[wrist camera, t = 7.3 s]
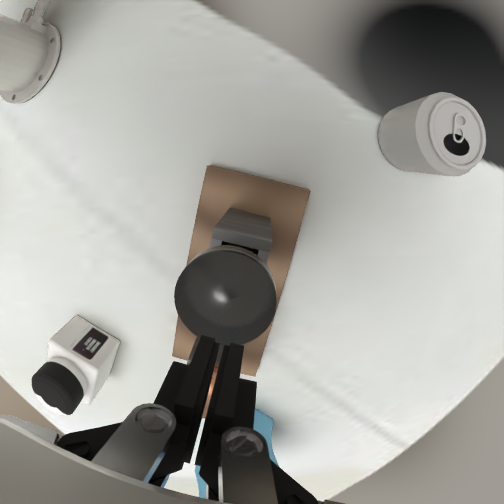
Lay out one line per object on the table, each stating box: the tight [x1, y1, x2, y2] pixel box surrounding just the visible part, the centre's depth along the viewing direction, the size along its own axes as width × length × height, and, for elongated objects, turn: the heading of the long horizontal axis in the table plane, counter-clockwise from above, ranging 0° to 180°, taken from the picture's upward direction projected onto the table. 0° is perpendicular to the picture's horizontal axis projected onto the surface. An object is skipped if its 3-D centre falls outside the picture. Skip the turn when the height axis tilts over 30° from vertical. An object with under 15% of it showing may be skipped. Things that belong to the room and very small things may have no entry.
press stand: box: [172, 166, 310, 376], centre depth 31 cm, size 24×11×12 cm, turn 166°
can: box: [378, 92, 486, 176], centre depth 26 cm, size 8×8×12 cm
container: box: [32, 316, 120, 415], centre depth 35 cm, size 8×8×13 cm
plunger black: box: [174, 242, 277, 346], centre depth 23 cm, size 6×6×12 cm
